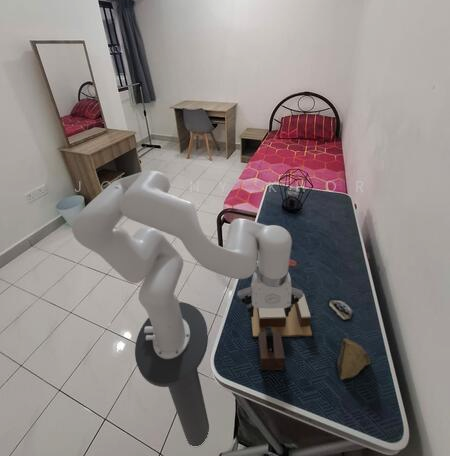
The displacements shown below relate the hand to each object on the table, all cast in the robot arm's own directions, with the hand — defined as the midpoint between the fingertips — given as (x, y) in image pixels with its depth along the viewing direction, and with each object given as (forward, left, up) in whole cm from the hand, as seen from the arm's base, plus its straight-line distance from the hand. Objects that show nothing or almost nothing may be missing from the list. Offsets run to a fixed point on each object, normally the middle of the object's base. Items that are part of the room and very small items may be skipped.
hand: (268, 311), depth 67 cm
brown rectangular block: (+14, +11, -22) cm, 28 cm away
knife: (+1, -1, -22) cm, 22 cm away
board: (+6, +11, -23) cm, 26 cm away
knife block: (+1, -1, -23) cm, 23 cm away
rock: (+26, -4, -23) cm, 35 cm away
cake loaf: (+3, +11, -22) cm, 24 cm away
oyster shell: (+29, +13, -23) cm, 39 cm away
